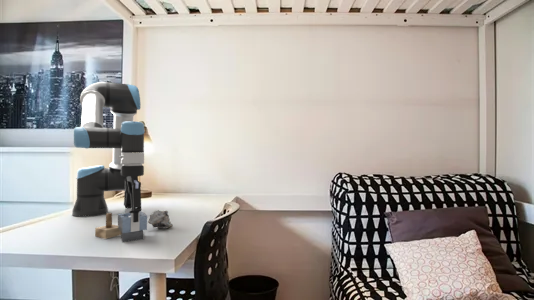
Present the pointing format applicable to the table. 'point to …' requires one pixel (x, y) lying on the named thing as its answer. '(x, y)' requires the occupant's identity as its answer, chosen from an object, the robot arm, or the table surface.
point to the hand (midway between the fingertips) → (132, 228)
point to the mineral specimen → (160, 219)
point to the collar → (125, 222)
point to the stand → (107, 229)
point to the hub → (132, 235)
